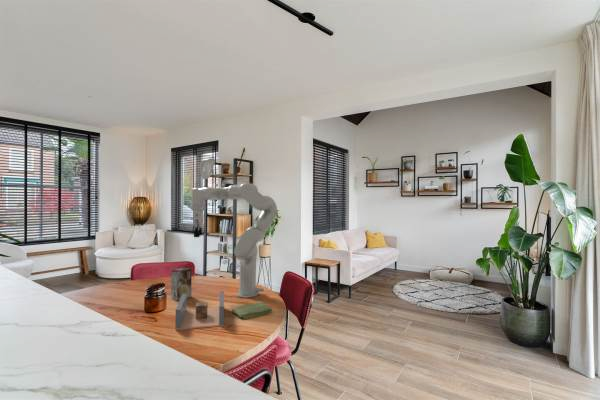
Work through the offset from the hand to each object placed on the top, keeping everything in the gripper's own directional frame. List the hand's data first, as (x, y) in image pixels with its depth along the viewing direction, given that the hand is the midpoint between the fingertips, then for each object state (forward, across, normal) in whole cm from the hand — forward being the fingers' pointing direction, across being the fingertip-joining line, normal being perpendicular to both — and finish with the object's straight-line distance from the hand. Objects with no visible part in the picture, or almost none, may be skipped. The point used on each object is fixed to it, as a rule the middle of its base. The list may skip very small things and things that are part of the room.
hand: (197, 236), depth 187 cm
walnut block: (+33, -45, -8) cm, 56 cm away
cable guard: (+34, -45, -8) cm, 57 cm away
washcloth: (+34, -41, -32) cm, 62 cm away
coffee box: (+34, -12, +7) cm, 36 cm away
